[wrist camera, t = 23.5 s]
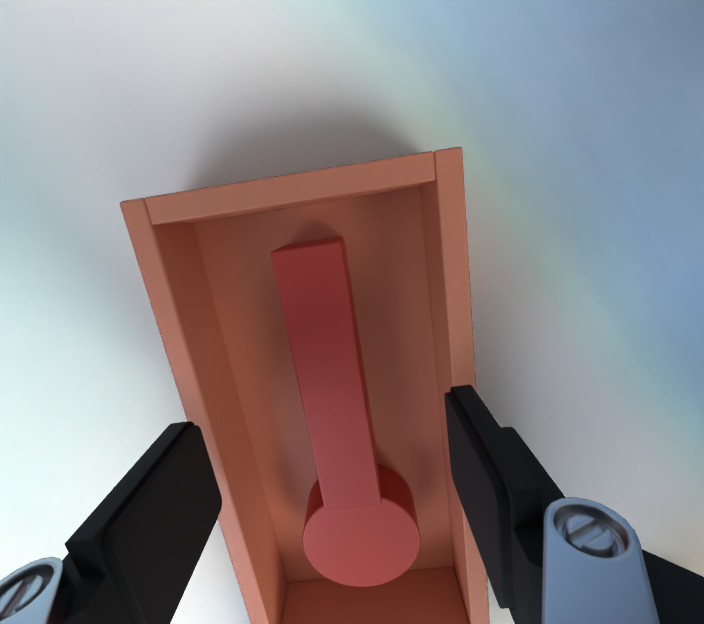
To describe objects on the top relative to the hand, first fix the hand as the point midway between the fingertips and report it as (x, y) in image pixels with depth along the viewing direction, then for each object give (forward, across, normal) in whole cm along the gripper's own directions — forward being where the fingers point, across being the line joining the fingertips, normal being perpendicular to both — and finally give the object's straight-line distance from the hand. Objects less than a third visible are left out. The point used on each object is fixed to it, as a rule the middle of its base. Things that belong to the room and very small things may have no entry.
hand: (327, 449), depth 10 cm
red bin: (+4, 0, +1) cm, 4 cm away
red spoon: (+3, 0, +1) cm, 3 cm away
